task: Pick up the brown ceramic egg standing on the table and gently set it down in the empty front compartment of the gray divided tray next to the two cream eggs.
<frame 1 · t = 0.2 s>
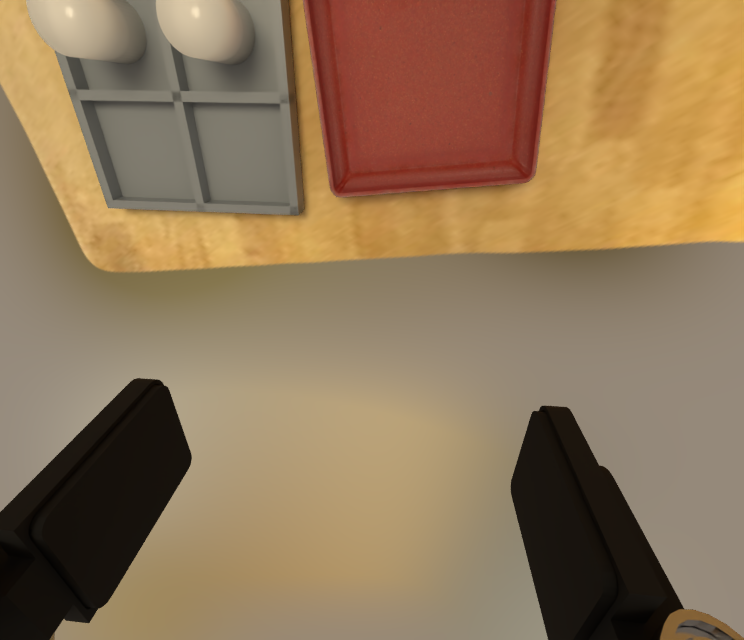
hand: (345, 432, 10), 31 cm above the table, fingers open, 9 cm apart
cream egg B: (227, 30, 30), point 1 cm above the table, touching gray divided tray
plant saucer: (426, 72, 32), on the table
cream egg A: (118, 30, 31), point 1 cm above the table, touching gray divided tray
gray divided tray: (190, 96, 34), on the table
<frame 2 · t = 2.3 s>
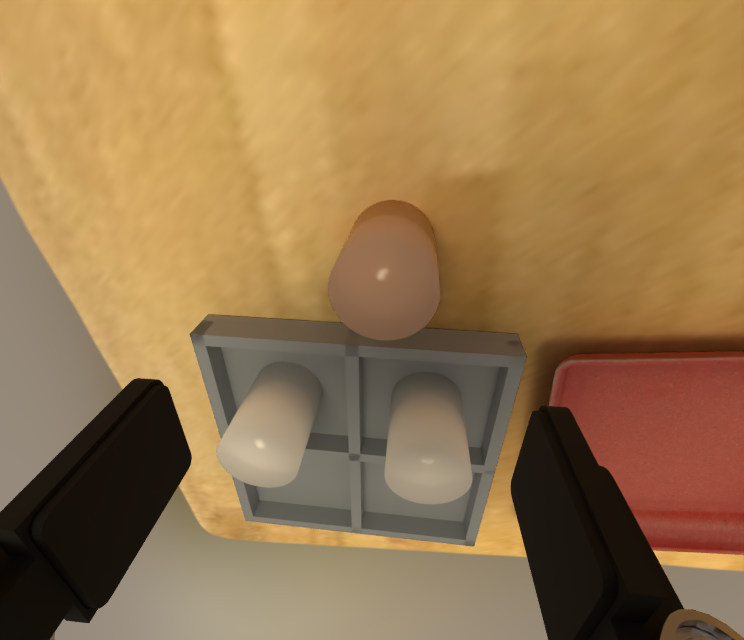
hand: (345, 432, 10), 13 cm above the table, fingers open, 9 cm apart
cream egg B: (426, 398, 25), point 1 cm above the table, touching gray divided tray
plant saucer: (659, 431, 26), on the table
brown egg: (392, 243, 20), on the table
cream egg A: (289, 388, 26), point 1 cm above the table, touching gray divided tray
gray divided tray: (359, 432, 28), on the table
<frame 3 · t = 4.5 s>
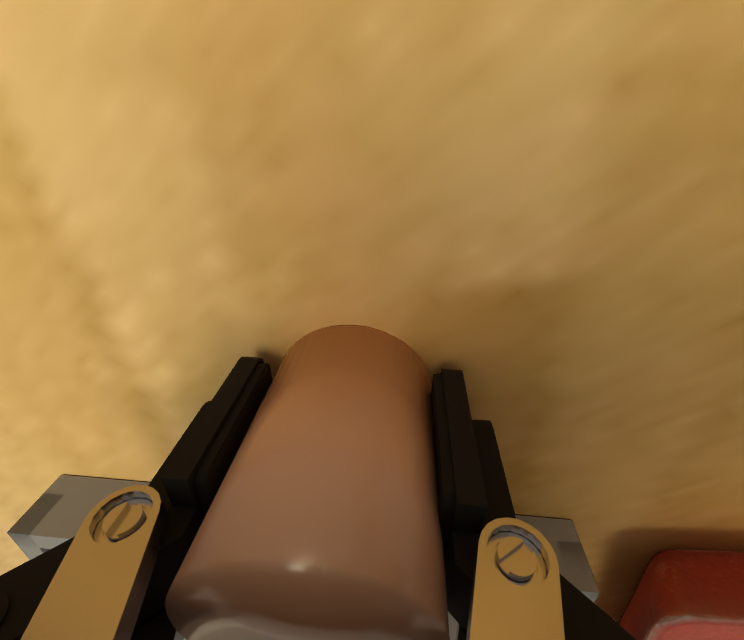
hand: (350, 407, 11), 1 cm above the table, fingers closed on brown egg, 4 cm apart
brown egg: (354, 390, 11), on the table, touching gripper
gray divided tray: (319, 616, 19), on the table
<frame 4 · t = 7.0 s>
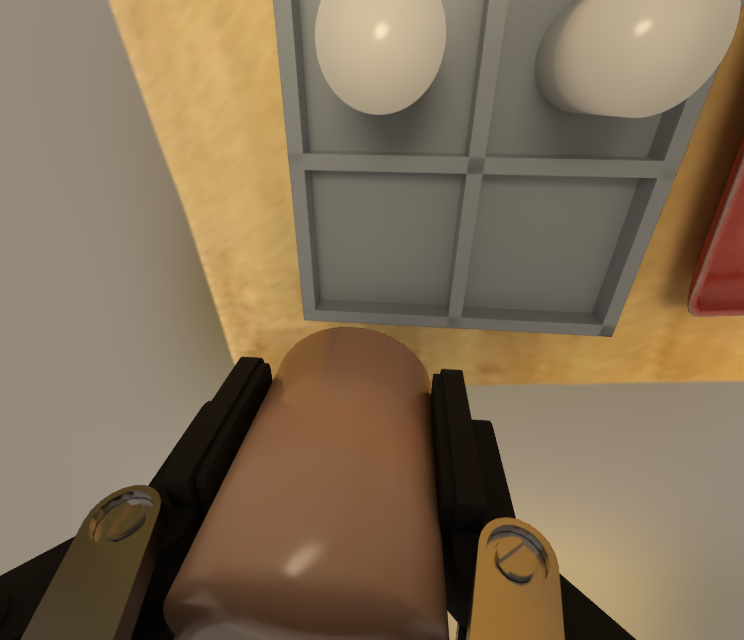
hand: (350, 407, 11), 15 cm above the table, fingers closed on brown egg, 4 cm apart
cream egg B: (586, 56, 18), point 1 cm above the table, touching gray divided tray
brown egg: (353, 392, 11), point 15 cm above the table, touching gripper
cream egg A: (388, 56, 18), point 1 cm above the table, touching gray divided tray
gray divided tray: (469, 159, 21), on the table
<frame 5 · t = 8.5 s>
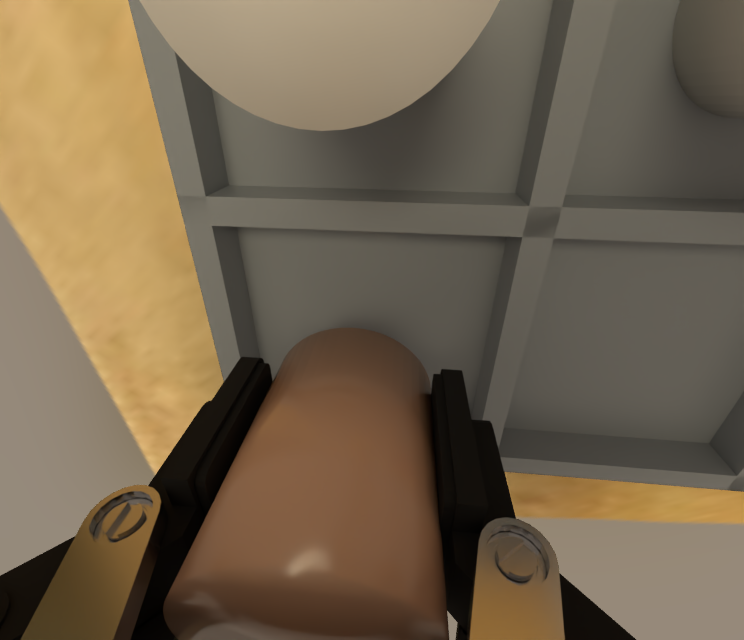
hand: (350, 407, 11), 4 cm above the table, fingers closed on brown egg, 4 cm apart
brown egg: (353, 393, 11), point 4 cm above the table, touching gripper
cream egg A: (368, 3, 9), point 1 cm above the table, touching gray divided tray
gray divided tray: (519, 201, 12), on the table
when the fingers open (3 cm above the table, at t = 9.5 s): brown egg drops 1 cm, resting on gray divided tray.
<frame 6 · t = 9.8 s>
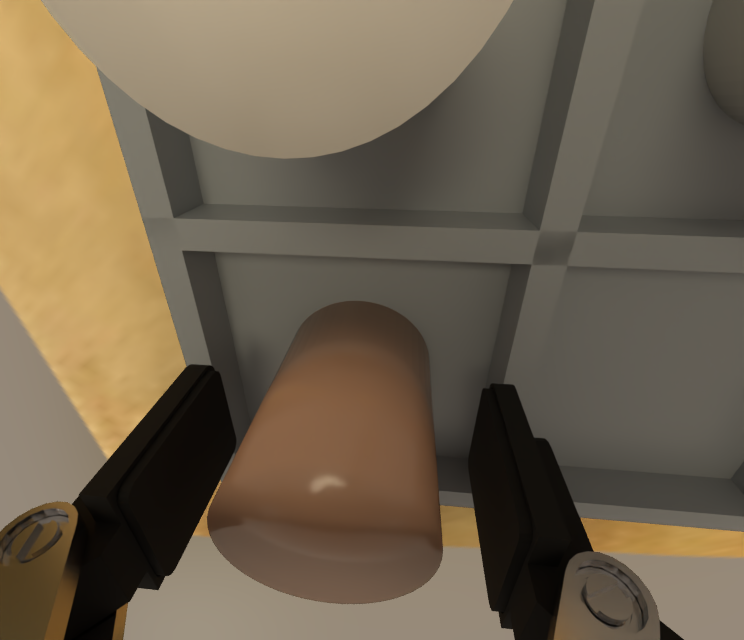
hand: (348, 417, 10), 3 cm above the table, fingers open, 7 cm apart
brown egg: (359, 362, 12), point 1 cm above the table, touching gray divided tray
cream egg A: (355, 0, 8), point 1 cm above the table, touching gray divided tray
gray divided tray: (526, 220, 10), on the table
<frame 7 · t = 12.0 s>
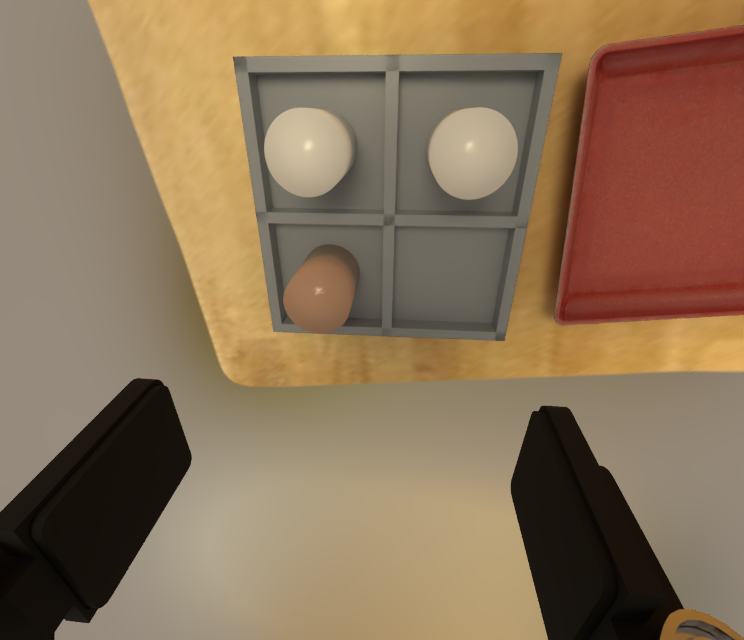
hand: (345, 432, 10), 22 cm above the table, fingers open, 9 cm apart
cream egg B: (459, 147, 26), point 1 cm above the table, touching gray divided tray
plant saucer: (682, 187, 27), on the table
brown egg: (331, 271, 31), point 1 cm above the table, touching gray divided tray
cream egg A: (324, 146, 26), point 1 cm above the table, touching gray divided tray
gray divided tray: (390, 212, 29), on the table
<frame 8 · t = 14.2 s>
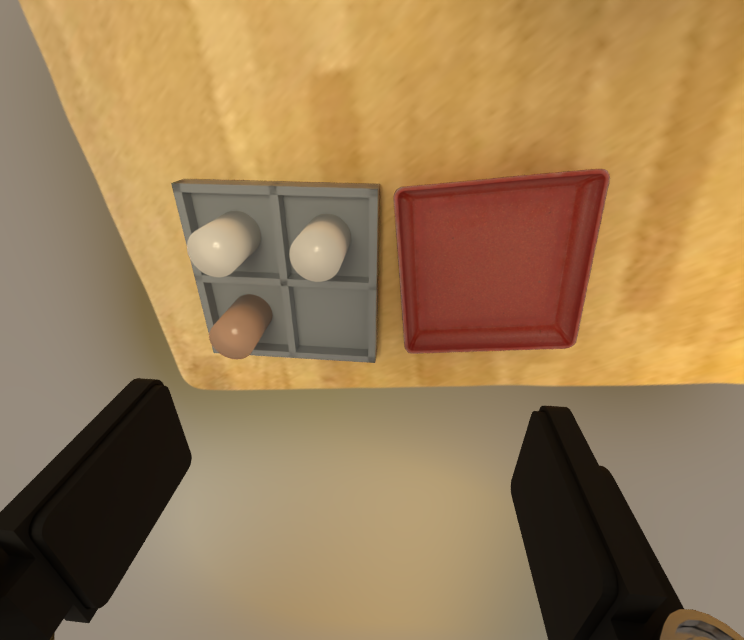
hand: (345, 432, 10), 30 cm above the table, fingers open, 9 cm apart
cream egg B: (328, 236, 38), point 1 cm above the table, touching gray divided tray
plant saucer: (486, 262, 39), on the table
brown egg: (252, 312, 43), point 1 cm above the table, touching gray divided tray
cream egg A: (239, 233, 39), point 1 cm above the table, touching gray divided tray
gray divided tray: (290, 273, 41), on the table
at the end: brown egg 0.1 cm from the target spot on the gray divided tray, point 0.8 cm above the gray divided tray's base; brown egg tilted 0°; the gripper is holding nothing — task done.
